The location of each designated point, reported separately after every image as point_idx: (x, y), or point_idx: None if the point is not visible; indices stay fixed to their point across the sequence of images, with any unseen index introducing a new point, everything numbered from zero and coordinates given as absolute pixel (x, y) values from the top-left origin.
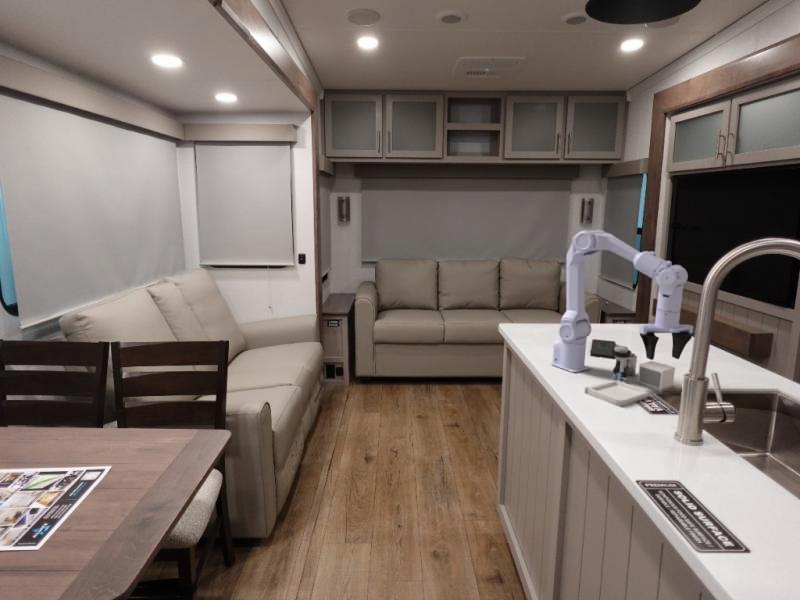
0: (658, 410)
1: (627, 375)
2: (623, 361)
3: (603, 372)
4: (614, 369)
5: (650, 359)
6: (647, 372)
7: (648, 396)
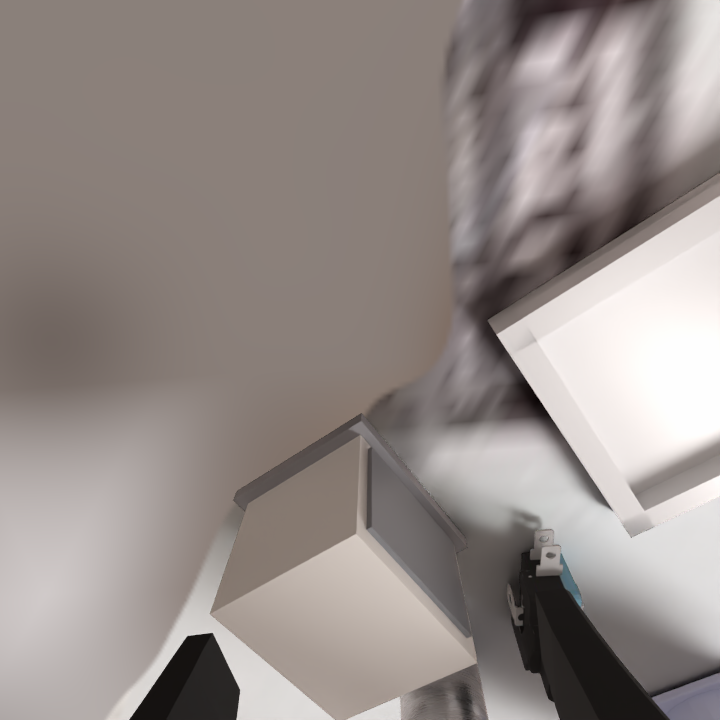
0: (566, 30)
1: None
2: None
3: None
4: None
5: (571, 594)
6: (432, 572)
7: (505, 312)
